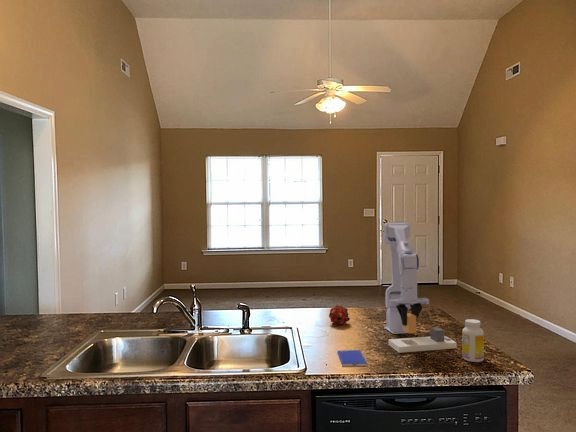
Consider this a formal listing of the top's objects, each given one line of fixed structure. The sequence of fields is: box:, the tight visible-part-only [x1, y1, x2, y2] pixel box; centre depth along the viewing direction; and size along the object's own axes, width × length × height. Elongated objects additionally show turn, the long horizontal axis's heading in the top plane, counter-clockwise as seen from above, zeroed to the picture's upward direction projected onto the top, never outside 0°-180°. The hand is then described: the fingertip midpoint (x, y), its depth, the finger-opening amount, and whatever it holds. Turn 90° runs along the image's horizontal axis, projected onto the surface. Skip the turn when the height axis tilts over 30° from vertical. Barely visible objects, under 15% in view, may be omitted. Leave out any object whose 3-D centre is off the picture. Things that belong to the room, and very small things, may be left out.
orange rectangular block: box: [403, 312, 417, 334], centre depth 163 cm, size 4×3×6 cm, turn 11°
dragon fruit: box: [328, 304, 351, 327], centre depth 196 cm, size 8×8×12 cm
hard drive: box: [336, 349, 368, 367], centre depth 152 cm, size 2×8×12 cm
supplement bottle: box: [461, 318, 485, 363], centre depth 150 cm, size 7×7×13 cm
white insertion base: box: [388, 326, 458, 354], centre depth 164 cm, size 9×22×6 cm, turn 101°
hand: (409, 324), depth 163 cm, fingers closed on orange rectangular block, 3 cm apart
